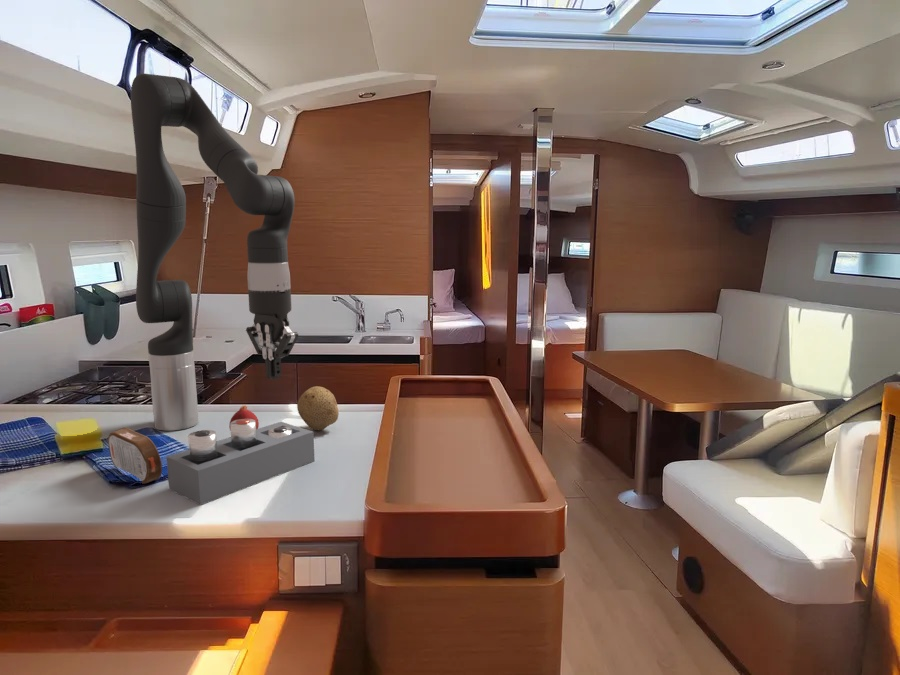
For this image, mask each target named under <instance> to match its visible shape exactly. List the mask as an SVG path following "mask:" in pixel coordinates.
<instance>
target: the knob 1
mask: <svg viewBox="0 0 900 675" xmlns="http://www.w3.org/2000/svg"><path fill="white" fill-rule="evenodd" d="M187 438H188V450H189V451H190V459H191V460H193V461H206V460H210V459H213V458H215V457H216V456H217V441H218V440H217V432H216V431H215V430H212V429H211V430H210V429H202V430H196V431H193V432H191V433H189V434H188V436H187Z"/></svg>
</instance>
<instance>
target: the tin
mask: <svg viewBox="0 0 900 675" xmlns="http://www.w3.org/2000/svg"><path fill="white" fill-rule="evenodd" d="M107 443H108V450H109V455H110V457H109V458H110V460H111V462H112V464H113V466H114V467H115V466H116V467H119V468H121V469H123V470H125V471H127V472H129V473H131V474H132V475H134V476H136V477H137V478H139V479H140V480H141V481H142V485H145V484H148V483H151V482H153V481H157V480H159V479H160V478H161V476H162V472H163V464H162V460H161V456H160V453H159V451H158V448H157V446H156V444H155V442H153V440H151V438H149V437H148V436H147V435H144V434H141V433H140V432H137V431H134V430H132V429H130V428H128V427H123V428H121V429H119V430H115V431H111V433H110V434H109V435H108V437H107Z"/></svg>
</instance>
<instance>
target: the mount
mask: <svg viewBox="0 0 900 675" xmlns="http://www.w3.org/2000/svg"><path fill="white" fill-rule="evenodd" d="M276 427H289V428H291V429H292V434H290V435H287V436H284V437H281V438H278V439H277V438H274V437H271V436H269V434H268V431H269V430H270V429H272V428H276ZM314 436H315V435H314V430H313V431H312V430H309V429H306V428H304V427H303V428H302V427H299V426H296V425H293V424H290V423H287V422H283V421H278V422H276V423H273V424H269V425H266V426H262V427H260V428H259V427H258V429H256V437H257V443H256V444H255V445H253V446H250V447H245V448H236V447H233V446H232V445H231V436H230V437H226V438H223V439H219V440H216V441H217V456H216V457H215V458H213V459H210V460H206V461H193V460H191V459H190V451H189V449H187V450H183V451H181V452H178V453H174V454H171V455H166V458H165V459H166V465H167V466H166V467H167V468H166V470H167V480H168V481H167V482H168V489H169V490H170V491H172V492H174V493H176V494H177V495H180V496H182V497H183V498H186V499H188V500H190V501H192V502H193V503H195V504H198V505H200V506H202V505H204V504H208V503H209V502H213V501H214V500H218V499H220V498H223V497H226V496H228V495H230V494H233V493H235V492H238V491H241V490H243V489H246V488H248V487H251V486H253V485H257V484H259V483H261V482H264V481H266V480H269V479H272V478H275V477H276V476H280V475H281V474H285V473H287V472H290V471H292V470H295V469H297V468H301V467H304V466H305V465H307V464H311V463H313V462H315V443H314V442H315V441H314V438H315V437H314Z"/></svg>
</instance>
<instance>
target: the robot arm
mask: <svg viewBox="0 0 900 675" xmlns="http://www.w3.org/2000/svg"><path fill="white" fill-rule="evenodd" d="M130 107H131V108H130V109H131V119H132V120H131V121H132V128H133V136H134V145H135V162H136V163H135V166H136V200H135V202H136V226H137V228H136V229H137V246H138V247H137V248H138V250H137V252H138V255H137V256H138V257H137V270H136V271H137V274H136V286H135V288H136V289H135V291H136V292H135V304H136V305H135V306H136V312H137V316H138V318H139V319H140V321H142V323H145V324H159V323H162V324H163V323H169V322H173V324H172V325H171V327H170V328H169V329H168V330H167V331H165V332H163V333H162V334H160V335H157V336H155V337H153V338H151V339H150V340H149V341H148V343H147V350H148V351H147V352H148V364H149V373H150V383H151V384H150V390H151V402H152V412H153V424H154V428H155V429H157V430H160V431H169V432H170V431H179V430H184V429H189V428H193V427H194V426H196V425H198V424H199V422H200V420H199V408H198V407H199V406H198V395H197V382H196V379H197V378H196V368H195V366H196V365H195V352H194V330H193V299H192V291H191V287H190V286H189V283H188V282H187V281H185V280H183V279H173V280H171V279H169V280H157V278H158V273H159V270H160V267H161V264H162V263H163V260H165V257H166V255H168V253H169V251H171V249H172V248H173V246H174V245H175V243H176V242H177V241H178V239H179V237H181V235H182V233H183V231H184V229H185V227H186V216H187V215H186V214H187V198H186V193H185V188H184V187H183V185H182V183H181V181H180V179H179V178H178V176H177V175H176V172H175V171H174V170H173V168H172V167H171V164H170V163H169V161H168V159H167V157H166V155H165V151H164V146H163V139H162V127H171V128H179V127H184V128H186V129H187V130H189V131H190V132H191V133H193V134H195V135H196V137H197V144H198V152H199V154H200V157H201V158H202V161H203V162H204V163H205V165H206V166H207V167H208V168H209V169H210V171H212V172H213V173H214V174H215V175H216V177H218V178H219V179H220V180H221V181H222V182H223V183H224V186H225V188H226V190H227V191H228V194H229V195H230V197H231V199H232V200H233V203H234V204H235V206H236V207H237V208H238V209H240V211H243V212H244V213H246V214H248V215H251V216H264V217H263V220H262V225H260V227H258V228H256V229H253V230H251V231H249V232H248V234H247V239H246V247H247V262H248V264H247V291H248V292H247V294H248V309H249V312H250V314H252V315H254V317H253V324H252V325H251V326H247V327H246V328H245V329H246V330H245V331H246V333H247V335H248V338H249V339H250V341H251V343H252V346H253V347H254V348H253V349H255V351H256V354H257V355H259V356H260V355H261V356H262V359H264V362H265V374H266V376H265V377H266V378H267V379H269V380H278V379H281V377H282V359H283V358H285V357H289V356H290V354H291V351H292V349H293V348H294V346H295V344H296V343H297V341H298V338H299V333H298V331H292V329H291V328H290V321H289V318H288V314H289V313H290V312H292V292H291V291H292V289H291V288H292V287H291V274H290V267H289V259H288V258H289V255H288V239H289V238H288V237H289V233H290V229H291V225H292V224H291V223H292V219H293V216H294V211H295V203H296V202H295V194H294V193H295V192H294V189H293V188H292V185H291V183H290V182H289V181H288V180H287V179H286V178H283V177H282V176H275V175H267V174H258V172H259V167H258V164H257V161H256V159H255V158H254V157H253V156H252V155H251V154H250V153H249V152H248V151H247V150H246V149H245V148H244V147H243V146H242V145H241V144H240V143H239V142H238V141H237V140H235V138H233V137H232V136H231V135H230V134H229V133H228V132H227V130H226V129H224V127H223V125H222V124H221V123H220V122H219V120H218V119H217V117H216V116H215V115H214V113H213V111H212V110H211V109H210V108H209V107H208V105H207V103H205V101H204V100H203V98H202V96H201V95H200V94H199V93H198V91H197V90H196V89H195V87H194V86H193V85H192V84H191V83H190V82H188V81H187V80H185V79H184V78H181V77H177V76H167V75H159V74H150V73H139V74H137V75H136V76H135V77H134V79H133V80H132V83H131V88H130Z"/></svg>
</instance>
